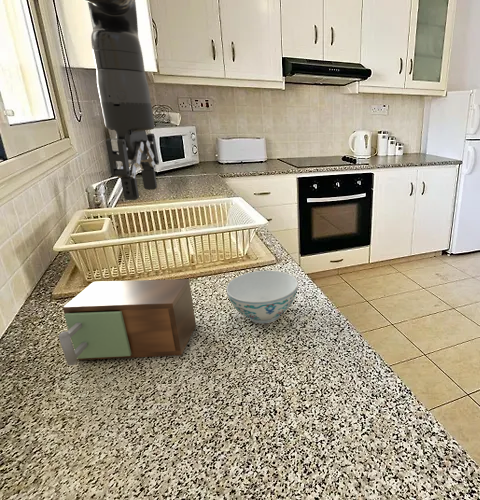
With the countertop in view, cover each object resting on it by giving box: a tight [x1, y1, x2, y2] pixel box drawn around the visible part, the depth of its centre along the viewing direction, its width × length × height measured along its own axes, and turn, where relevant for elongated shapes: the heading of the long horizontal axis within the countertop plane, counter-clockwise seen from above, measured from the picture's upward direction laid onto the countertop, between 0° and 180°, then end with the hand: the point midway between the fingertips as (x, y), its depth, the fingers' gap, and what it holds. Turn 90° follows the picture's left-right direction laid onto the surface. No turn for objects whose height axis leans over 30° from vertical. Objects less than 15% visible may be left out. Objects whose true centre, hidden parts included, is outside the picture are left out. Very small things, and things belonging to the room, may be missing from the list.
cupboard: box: [62, 278, 197, 361], centre depth 71 cm, size 18×10×11 cm, turn 96°
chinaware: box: [225, 269, 299, 325], centre depth 82 cm, size 15×15×8 cm
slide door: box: [58, 311, 131, 367], centre depth 63 cm, size 9×5×9 cm, turn 96°
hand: (142, 194), depth 69 cm, fingers open, 8 cm apart
